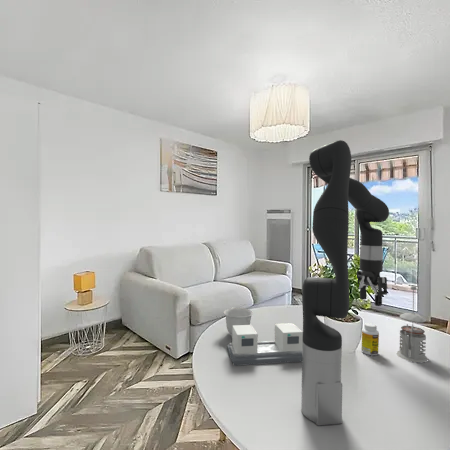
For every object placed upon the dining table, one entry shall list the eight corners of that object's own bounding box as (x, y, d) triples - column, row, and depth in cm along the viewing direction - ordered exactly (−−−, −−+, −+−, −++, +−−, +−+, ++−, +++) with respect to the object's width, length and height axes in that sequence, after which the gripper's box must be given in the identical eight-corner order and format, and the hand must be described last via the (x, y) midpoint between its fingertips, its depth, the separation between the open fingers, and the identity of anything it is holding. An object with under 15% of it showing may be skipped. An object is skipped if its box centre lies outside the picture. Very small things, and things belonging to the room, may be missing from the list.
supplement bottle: (372, 357, 105) (373, 328, 105) (358, 351, 110) (358, 323, 109) (381, 353, 108) (382, 325, 108) (367, 348, 113) (367, 321, 112)
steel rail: (295, 343, 112) (295, 339, 112) (305, 354, 103) (305, 350, 103) (229, 346, 109) (229, 343, 109) (234, 358, 100) (234, 354, 100)
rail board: (294, 345, 114) (294, 341, 114) (308, 360, 102) (309, 356, 101) (227, 348, 110) (227, 344, 110) (233, 365, 98) (233, 360, 98)
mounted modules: (292, 341, 112) (293, 323, 112) (302, 352, 103) (303, 332, 103) (232, 344, 109) (232, 325, 109) (237, 356, 99) (237, 335, 99)
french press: (431, 356, 106) (432, 286, 106) (424, 367, 98) (426, 291, 98) (399, 348, 113) (401, 282, 113) (391, 358, 105) (392, 286, 104)
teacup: (243, 327, 133) (243, 305, 133) (257, 340, 119) (257, 315, 118) (217, 330, 129) (217, 307, 129) (228, 343, 115) (229, 317, 115)
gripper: (394, 260, 102) (393, 307, 102) (368, 255, 116) (367, 297, 116) (374, 260, 101) (373, 308, 101) (350, 255, 115) (349, 297, 115)
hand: (370, 302), depth 109 cm, fingers open, 8 cm apart
